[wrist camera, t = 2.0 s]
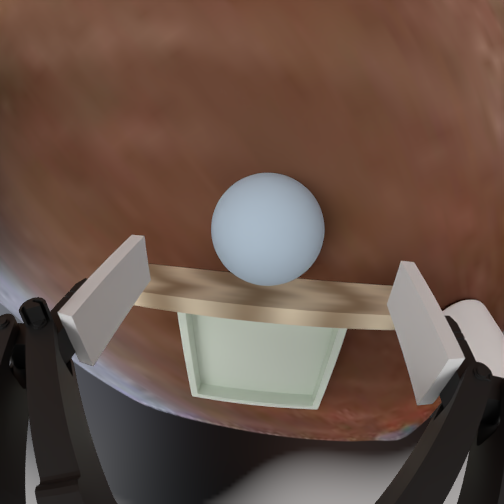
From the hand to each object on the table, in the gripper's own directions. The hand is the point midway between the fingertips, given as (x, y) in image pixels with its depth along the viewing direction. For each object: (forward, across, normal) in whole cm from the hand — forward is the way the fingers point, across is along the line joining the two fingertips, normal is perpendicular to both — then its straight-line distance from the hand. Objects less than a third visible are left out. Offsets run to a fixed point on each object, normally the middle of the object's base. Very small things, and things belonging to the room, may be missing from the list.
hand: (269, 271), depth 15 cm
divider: (+8, -2, -6) cm, 10 cm away
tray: (+8, 0, -15) cm, 17 cm away
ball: (+8, 0, 0) cm, 8 cm away
